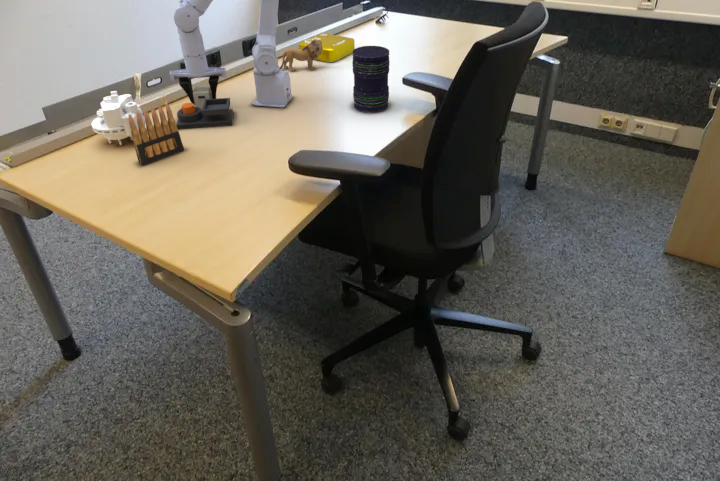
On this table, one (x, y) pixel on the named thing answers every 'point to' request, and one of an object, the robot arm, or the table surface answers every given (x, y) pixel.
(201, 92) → the block
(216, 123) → the black docking base
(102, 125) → the mechanical part
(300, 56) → the lion figurine
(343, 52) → the element tile
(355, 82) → the storage jar
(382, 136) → the table surface
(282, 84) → the robot arm
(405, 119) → the table surface
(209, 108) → the adapter socket
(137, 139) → the ammunition clip
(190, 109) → the power button
